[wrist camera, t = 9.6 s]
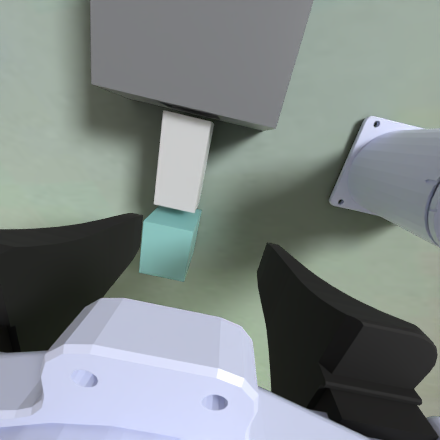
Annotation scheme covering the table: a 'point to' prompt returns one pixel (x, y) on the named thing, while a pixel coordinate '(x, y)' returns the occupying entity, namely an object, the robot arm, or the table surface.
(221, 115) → the grey block
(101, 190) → the table surface
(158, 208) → the plug
